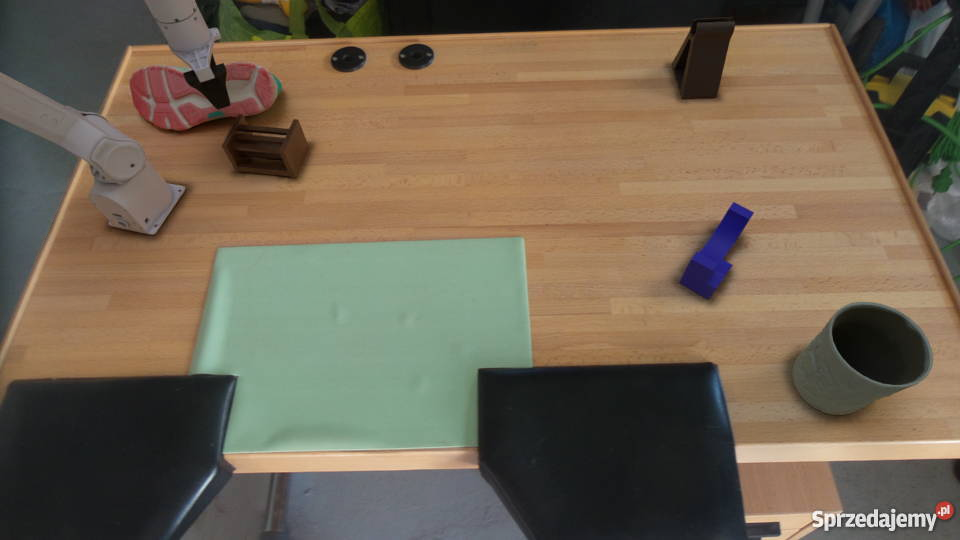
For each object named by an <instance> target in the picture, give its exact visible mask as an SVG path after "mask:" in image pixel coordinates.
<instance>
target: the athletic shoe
mask: <svg viewBox="0 0 960 540" xmlns="http://www.w3.org/2000/svg"><path fill="white" fill-rule="evenodd" d="M224 65H225V67H226V71H227V76H226V88H227V92H228V95H229V99H230V106H228V107H225V108H222V109H219V110H217V109H216V108H215V107H214V106H213V105H212V104H211V103H210V102H209V100H208V99H207V98H206V97H205V96H204V95H203V94H202V93H201V92H199V91H198V90H196V89H195V88H193V87H191V86H190V85H189V84H188V83H187V82H186V80H185V78H184V75H183V73H185V72H188V71H191V70H193V69H192V68H191V67H189V66H181V65H165V64H151V65H147V66H144V67H143V66H142V67H141V68H138V70H135V71H134V72H133V73H132V75H131V77H130V79H129V89H130V93H131V98H132V104H133V107H134V108H135V110H136V112H137V113H138V114H139V115H140V116H141V117H142V118H144V119H145V120H146V121H147V122H149V123H151V124H153V125H154V126H156V127H157V128H160V129H162V130H167V131H168V130H173V131H186V130H189V129H192V127H194V126H198V125H200V124H202V123H205V122H210V121H214V120H219V119H224V118H230V117H232V118H237V116H238V114H242V115H243V116H244V118H245V117H247V116H255V115H259V114H262V113H263V112H265V111H267V110H268V109H270V108H271V107H272V106H273V105H274V103H275V101H276V100H277V98H278V97H279V95H280V94H281V92H282V89H283V83H282V82H281V80H280V79H279V78H278V77H276V75H274V74H273V73H272V72H271V71H269V70H268V69H267V68H266V67H264V66H262V65H259V64H256V63H254V62H251V61H233V62H229V63H226V64H224Z"/></svg>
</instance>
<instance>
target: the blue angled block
mask: <svg viewBox="0 0 960 540" xmlns="http://www.w3.org/2000/svg"><path fill="white" fill-rule="evenodd" d="M754 214H755V212H754V211H752V210H750V209H748V208H746V207H745V206H742V205H741V204H739V203H737V202H735V201H733V202H732V203H731V204H730V206H729V207H728V209H727V211H726V212H725V214H724V216H723V217H722V219H721V220H720V222H719V224H718V225H717V227H716V228H715V230H714V231H713V233H712V235H711V236H710V237H709V239H708V241H707V242H706V243H705V245H704V246H703V248H702V249H701V250H700V251H698V250H697V251H696V252H695V253H694V255H693V256H692V257H691V258H690V261H689V263H688V265H687V266H686V268H685V270H684V272H683V274H682V275H681V278H680V279H679V281H678V283H679V284H681V285H682V286H684V287H685V288H687V289H689V290H691V291H692V292H694V293H696V294H698V295H699V296H700V297H702V298H705V299H706V300H708V301H710V299H711V298H712V296H713V295H714V293H715V292H716V290H717V289H718V287H719V286H720V285H721V283H722V282H723V280H724V279H725V278H726V276H727V275H728V273H729V271H730V270H731V268H733V264H732V263H731V262H728V261H726V260H725V258H726V256H727V255H728V254H729V252H730V251H731V249H732V248H733V246H734V245H735V243H736V242H737V241H738V240H739V238H740V236H741V234H742V233H743V232H744V230H745V228H746V227H747V225H748V223H749V221H750V220H751V218H752V217H753V215H754Z"/></svg>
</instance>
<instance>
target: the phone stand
mask: <svg viewBox="0 0 960 540" xmlns="http://www.w3.org/2000/svg"><path fill="white" fill-rule="evenodd" d="M735 28H736V21H735V20H734V17H733V16H730V17H729V16H727V17H706V18H705V17H704V18H694V19H693V20H692V21H691V25H690V29H689V31H688V33H687V35H686V37H685V39H684V40H683V43H682V44H681V46H680V48H679V49H678V51H677V53H676V55H675V57H674V58H673V60H672V62H671V66H670V67H671V69H672V72H673V76H674V79H675V82H676V86H677V88H678V92H679V95H680V98H681V99H704V98H717V97H718V94H719V90H720V85H721V81H722V76H723V73H724V72H723V71H724V69H725V64H726V61H727V55H728V51H729V46H730V42H731V40H732V37H733V34H734V32H735Z"/></svg>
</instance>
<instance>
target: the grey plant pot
mask: <svg viewBox="0 0 960 540" xmlns="http://www.w3.org/2000/svg"><path fill="white" fill-rule="evenodd" d="M933 364H934V354H933V349H932V346H931V343H930V341H929V338H928V337H927V335H926V334H925V332H924V331H923V329H922V328H921V327H920V326H919V325H918V324H917V323H916V322H915V321H914V320H912V318H910V316H908V315H906V313H903V312H902V311H900V310H898V309H896V308H894V307H892V306H889V305H887V304H883V303H880V302H874V301H855V302H850V303H848V304H846V305H843V306H842V307H840V308H839V309H838V310H836V311H835V312H834V314H833V315H831V317H830V318H829V320H828V321H827V323H826V324H825V326H824V327H823V328H822V330H821V331H819V332H818V333H817V334H816V336H814V338H813V339H812V340H811V341H810V342H809V344H808V345H807V346H806V347H805V348H804V349H803V351H801V352H800V354H798V356H797V357H796V359H795V360H794V363H793V365H792V368H791V369H792V370H791V375H792V376H791V379H792V381H793V385H794V387H795V390H796V392H797V393H798V394H799V396H800V398H802V399H803V400H804V401H805V402H806V403H807V404H808V405H810V407H812V408H814V409H815V410H818V411H820V412H822V413H825V414H828V415H833V416H845V415H849V414H852V413H854V412H857V411H859V410H861V409H864V408H865V407H867V406H868V405H870V404H872V403H874V402H876V401H877V400H880V399H882V398H887V397H891V396H892V395H894V394H896V393H899V392H901V391H903V390H906V389H909V388H911V387H913V386H917V385H919V384H920V383H921V382H923V381H924V380H925V379H926V378H927V377H928V376H929V375H930V373H931V371H932V369H933V366H934V365H933Z"/></svg>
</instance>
